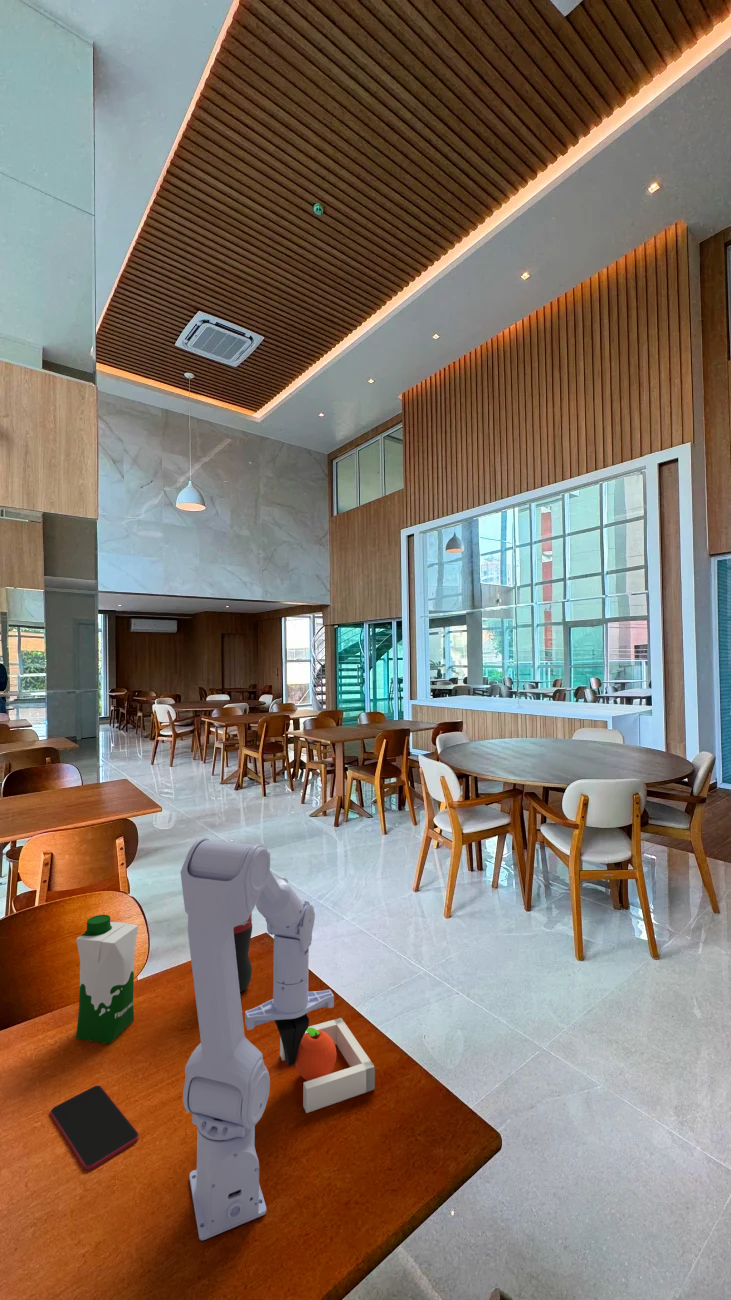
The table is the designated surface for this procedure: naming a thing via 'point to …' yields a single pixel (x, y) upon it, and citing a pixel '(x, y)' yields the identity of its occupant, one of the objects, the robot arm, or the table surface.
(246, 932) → the cola bottle
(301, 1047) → the clementine
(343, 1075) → the holder
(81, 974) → the milk carton
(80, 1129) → the smartphone
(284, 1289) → the table surface
